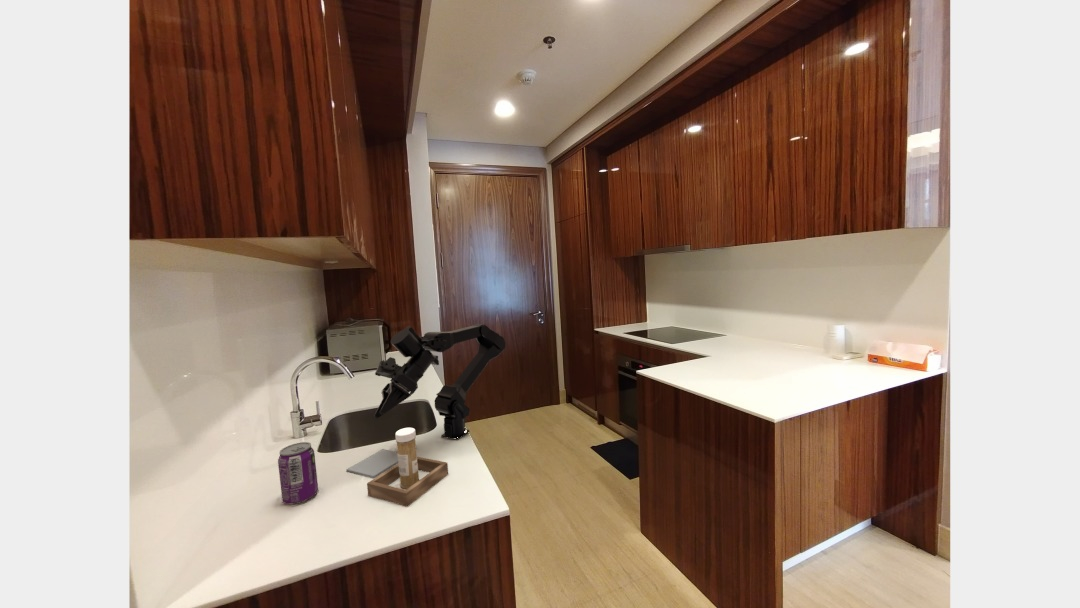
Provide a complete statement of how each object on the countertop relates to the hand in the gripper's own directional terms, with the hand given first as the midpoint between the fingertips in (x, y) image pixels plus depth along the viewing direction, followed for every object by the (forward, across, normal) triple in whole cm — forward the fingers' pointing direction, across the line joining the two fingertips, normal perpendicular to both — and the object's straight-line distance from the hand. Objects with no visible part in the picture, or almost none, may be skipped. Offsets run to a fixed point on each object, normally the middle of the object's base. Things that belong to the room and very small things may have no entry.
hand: (378, 415), depth 96 cm
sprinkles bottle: (+10, +5, +16) cm, 19 cm away
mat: (+8, -10, +9) cm, 15 cm away
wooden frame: (+10, +5, +16) cm, 19 cm away
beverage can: (+23, -5, -2) cm, 24 cm away
